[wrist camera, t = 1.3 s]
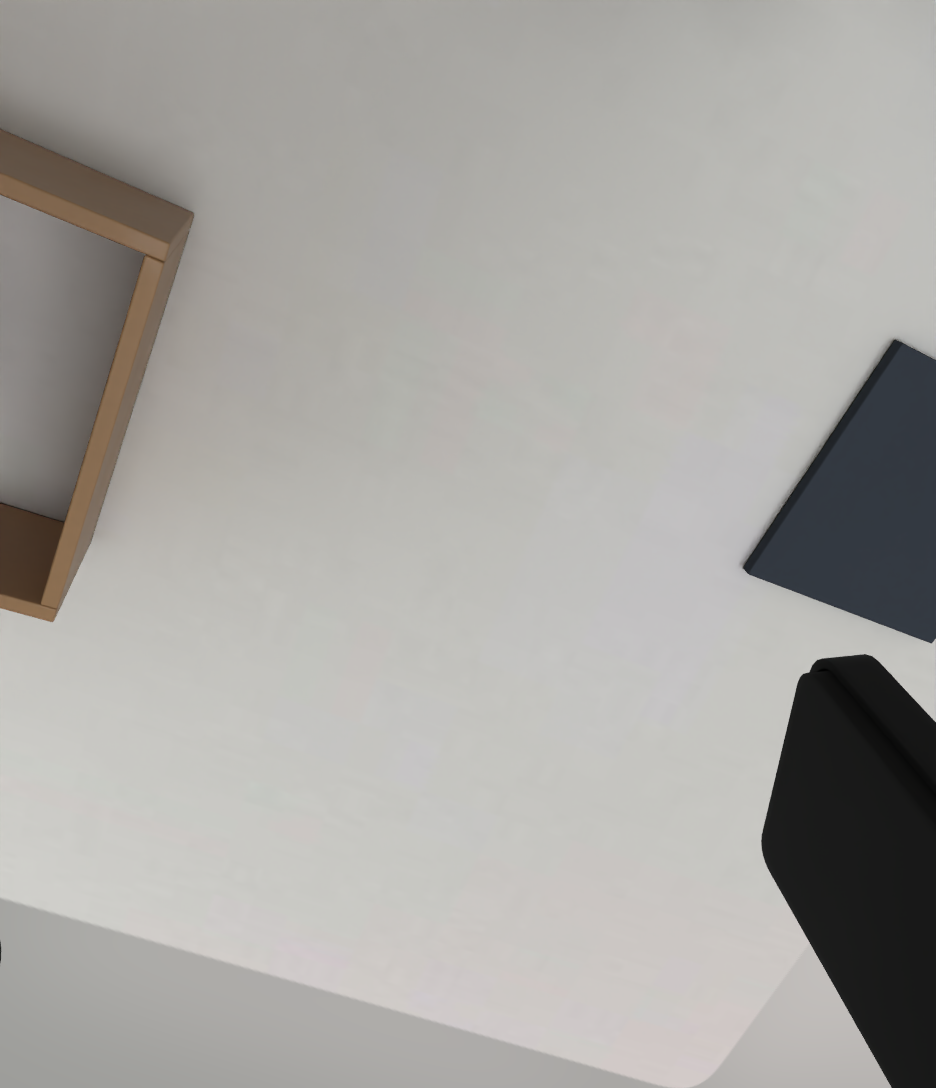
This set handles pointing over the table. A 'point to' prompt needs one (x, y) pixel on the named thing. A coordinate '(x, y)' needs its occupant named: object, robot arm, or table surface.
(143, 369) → the cardboard box
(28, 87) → the table surface
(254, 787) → the table surface
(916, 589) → the rubber mat
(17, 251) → the table surface
